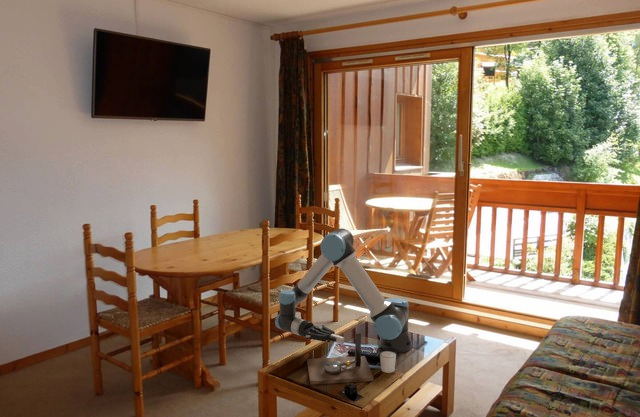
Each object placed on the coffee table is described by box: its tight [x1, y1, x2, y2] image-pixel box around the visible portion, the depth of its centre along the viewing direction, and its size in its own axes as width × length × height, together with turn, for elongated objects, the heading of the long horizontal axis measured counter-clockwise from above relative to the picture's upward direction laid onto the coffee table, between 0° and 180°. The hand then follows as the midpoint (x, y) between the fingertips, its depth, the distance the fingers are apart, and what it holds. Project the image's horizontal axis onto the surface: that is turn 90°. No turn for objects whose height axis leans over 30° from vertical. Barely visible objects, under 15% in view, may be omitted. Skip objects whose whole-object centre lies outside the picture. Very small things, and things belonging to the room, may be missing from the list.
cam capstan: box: [324, 332, 362, 374], centre depth 205 cm, size 17×7×14 cm, turn 114°
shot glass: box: [379, 350, 397, 374], centre depth 208 cm, size 7×7×7 cm
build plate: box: [337, 382, 365, 403], centre depth 189 cm, size 12×7×5 cm, turn 40°
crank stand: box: [306, 355, 375, 385], centre depth 208 cm, size 26×20×2 cm
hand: (343, 340), depth 214 cm, fingers closed
